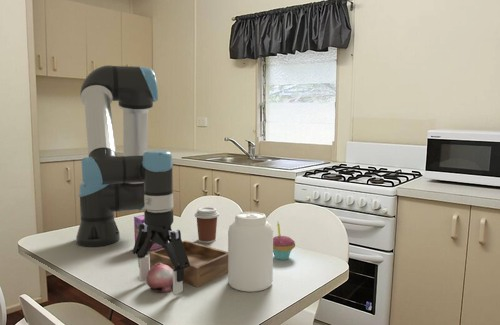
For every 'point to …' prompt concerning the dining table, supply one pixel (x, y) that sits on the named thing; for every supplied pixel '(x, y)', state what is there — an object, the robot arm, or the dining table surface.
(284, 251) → the cupcake
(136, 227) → the box
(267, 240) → the white lidded jar
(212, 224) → the coffee cup
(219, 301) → the dining table surface
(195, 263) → the wooden tray
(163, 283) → the onion
